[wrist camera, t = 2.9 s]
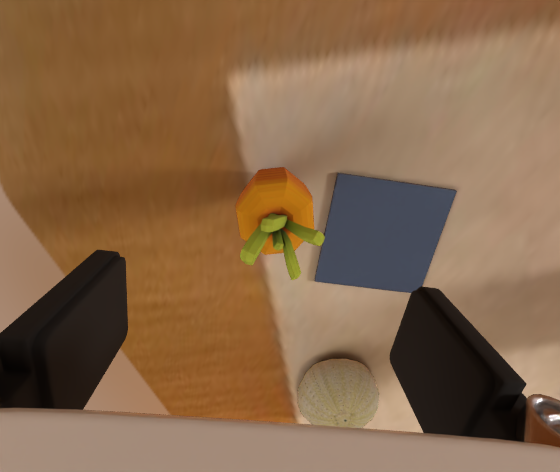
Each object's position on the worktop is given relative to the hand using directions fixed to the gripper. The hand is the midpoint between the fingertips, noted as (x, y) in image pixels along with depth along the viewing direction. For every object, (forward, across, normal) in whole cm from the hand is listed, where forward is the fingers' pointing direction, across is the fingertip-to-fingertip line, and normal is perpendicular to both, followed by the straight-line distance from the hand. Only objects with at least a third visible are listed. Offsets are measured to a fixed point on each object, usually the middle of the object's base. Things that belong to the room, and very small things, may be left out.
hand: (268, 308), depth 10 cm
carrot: (+20, -1, 0) cm, 20 cm away
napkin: (+20, -12, +4) cm, 23 cm away
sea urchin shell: (+20, -11, +23) cm, 32 cm away
